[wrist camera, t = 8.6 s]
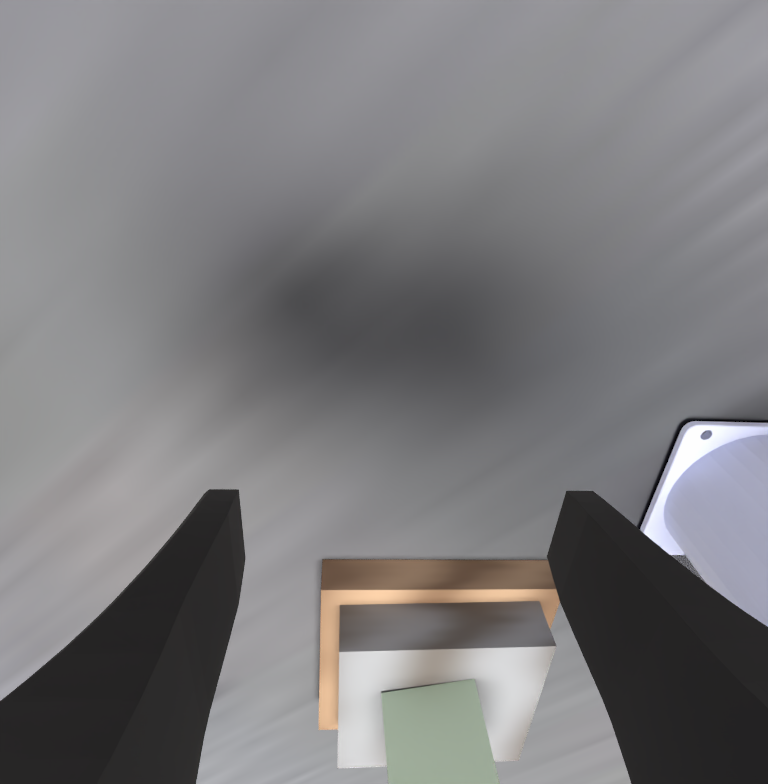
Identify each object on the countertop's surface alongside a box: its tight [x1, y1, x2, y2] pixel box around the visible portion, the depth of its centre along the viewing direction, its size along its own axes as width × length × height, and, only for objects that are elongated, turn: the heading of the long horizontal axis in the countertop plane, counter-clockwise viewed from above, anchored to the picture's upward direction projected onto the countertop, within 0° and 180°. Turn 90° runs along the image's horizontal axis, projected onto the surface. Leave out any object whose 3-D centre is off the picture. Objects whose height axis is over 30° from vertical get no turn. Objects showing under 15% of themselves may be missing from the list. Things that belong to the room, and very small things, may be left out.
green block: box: [381, 679, 500, 784], centre depth 24 cm, size 4×4×6 cm
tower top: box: [338, 601, 556, 768], centre depth 27 cm, size 10×10×2 cm
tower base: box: [319, 559, 560, 730], centre depth 30 cm, size 12×12×2 cm
